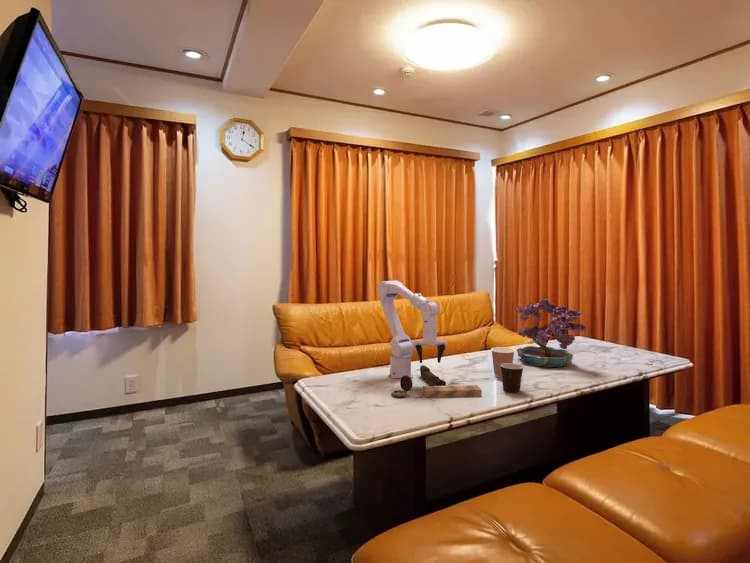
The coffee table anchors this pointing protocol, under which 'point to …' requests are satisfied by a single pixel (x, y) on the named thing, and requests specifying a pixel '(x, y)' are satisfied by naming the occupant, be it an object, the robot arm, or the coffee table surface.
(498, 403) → the coffee table surface
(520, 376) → the coffee mug
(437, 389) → the light brown wooden board
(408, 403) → the coffee table surface
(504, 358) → the coffee cup
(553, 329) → the bonsai tree
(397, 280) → the robot arm
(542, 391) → the coffee table surface
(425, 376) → the hand tool
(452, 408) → the coffee table surface
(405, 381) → the compass
